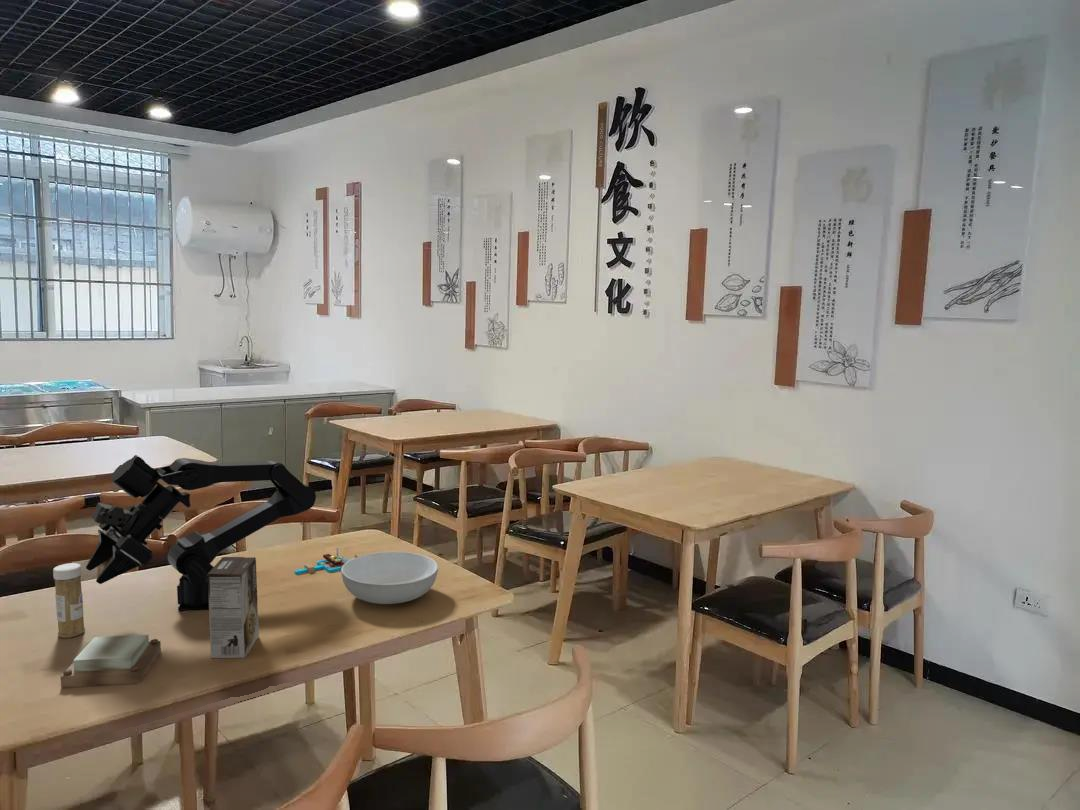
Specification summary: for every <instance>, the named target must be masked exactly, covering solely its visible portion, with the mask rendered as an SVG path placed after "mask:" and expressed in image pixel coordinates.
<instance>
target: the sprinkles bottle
mask: <svg viewBox="0 0 1080 810" xmlns="http://www.w3.org/2000/svg"><path fill="white" fill-rule="evenodd" d="M82 573H83V572H82V565H81V564H80V563H75V562H71V563H63V564H60V565H57V566H55V567H54V568H53V570H52V574H53V581H54V588H55V595H54V597H55V606H56V607H55V608H56V620H57V625H58V626H57V627H58V628H57V629H58V631H57V632H58V633H57V636H58V637H59V638H64V639H67V638H69V639H70V638H74V637H77V636H80V635H82V634H84V633H85V631H86V628H85V622H84V621H85V620H84V601H83V592H82V579H81V576H82Z"/></svg>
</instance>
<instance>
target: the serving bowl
mask: <svg viewBox="0 0 1080 810" xmlns="http://www.w3.org/2000/svg"><path fill="white" fill-rule="evenodd" d="M362 555H363V556H359V557H356V558H355V557H353V558H350V559H351V560H349V559H348V560H349V561H348V562H346V563H345V564H344V565H341V566H342V568H341V570H340V572H341V577H342V578H341V579H342V582H343V584H344V587H345V588H346V590H347V591H348V592H349V593H350V594H351V595H352V596H354V597H355V598H357V599H359V600H361V601H363V602H367V603H371V604H378V605H394V604H401V603H403V604H404V603H406V602H410V601H413V600H415V599H418V598H420V597H422V596H423V595H425V594H426V593H427V592H429V591H430V589H432V587H433V586H434V584H435V582H436V580H437V576H438V573H439V564H438V563H437V562H436V561H435V560H434V559H432V558H431V557H429V556H426V555H423V554H420V553H415V552H408V551H380V552H379V551H378V552H373V553H368V554H362Z"/></svg>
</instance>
